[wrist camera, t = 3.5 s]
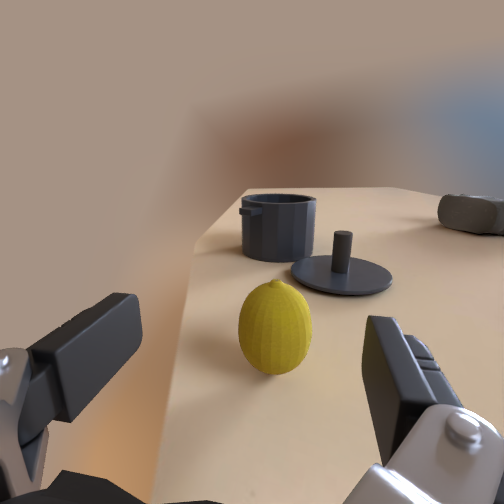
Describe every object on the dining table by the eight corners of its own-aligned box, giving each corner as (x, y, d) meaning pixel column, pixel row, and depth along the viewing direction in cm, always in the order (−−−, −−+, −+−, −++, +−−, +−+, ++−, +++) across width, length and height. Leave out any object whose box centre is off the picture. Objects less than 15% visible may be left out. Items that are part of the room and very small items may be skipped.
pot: (217, 256, 52) (215, 200, 49) (276, 235, 65) (277, 190, 63) (278, 273, 45) (280, 208, 42) (330, 245, 58) (335, 195, 55)
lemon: (277, 411, 20) (281, 305, 18) (224, 372, 24) (221, 279, 22) (322, 372, 24) (330, 280, 22) (270, 343, 28) (273, 261, 26)
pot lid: (272, 280, 42) (273, 234, 40) (317, 256, 52) (320, 218, 50) (371, 310, 34) (379, 254, 32) (402, 275, 44) (410, 230, 42)
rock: (541, 238, 64) (553, 200, 61) (499, 241, 61) (509, 202, 59) (464, 221, 81) (470, 191, 78) (428, 223, 78) (434, 192, 76)
